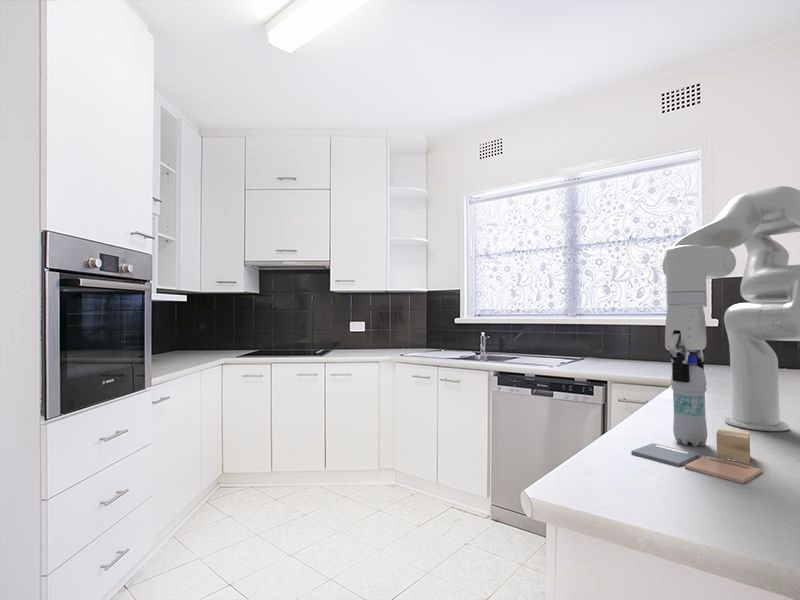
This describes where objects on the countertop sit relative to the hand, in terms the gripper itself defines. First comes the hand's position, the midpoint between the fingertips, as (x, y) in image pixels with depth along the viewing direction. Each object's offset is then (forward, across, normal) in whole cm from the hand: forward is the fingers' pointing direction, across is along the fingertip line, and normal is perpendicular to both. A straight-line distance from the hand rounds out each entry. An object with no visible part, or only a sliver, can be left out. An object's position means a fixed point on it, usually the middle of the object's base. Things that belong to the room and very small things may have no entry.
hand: (688, 379), depth 96 cm
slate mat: (+14, +13, 0) cm, 19 cm away
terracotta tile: (+14, +13, +10) cm, 22 cm away
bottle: (+14, 0, 0) cm, 14 cm away
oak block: (+14, +3, +9) cm, 17 cm away
